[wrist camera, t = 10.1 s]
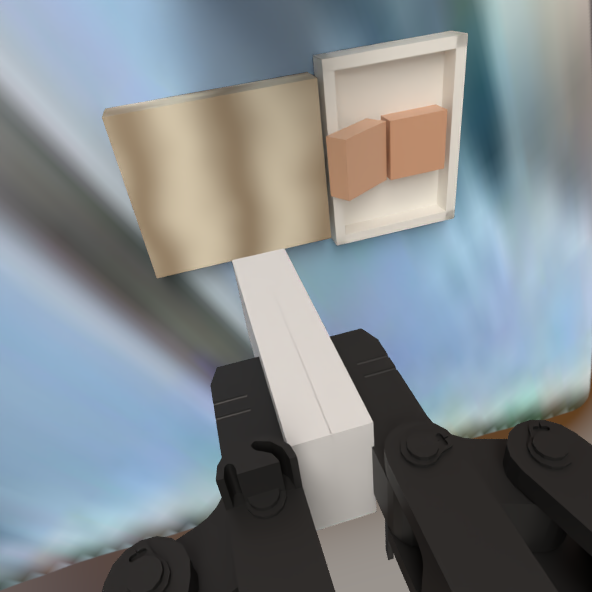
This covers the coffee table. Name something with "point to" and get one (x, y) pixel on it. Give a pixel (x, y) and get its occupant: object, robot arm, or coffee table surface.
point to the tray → (384, 100)
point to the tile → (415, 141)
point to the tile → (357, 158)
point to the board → (224, 171)
